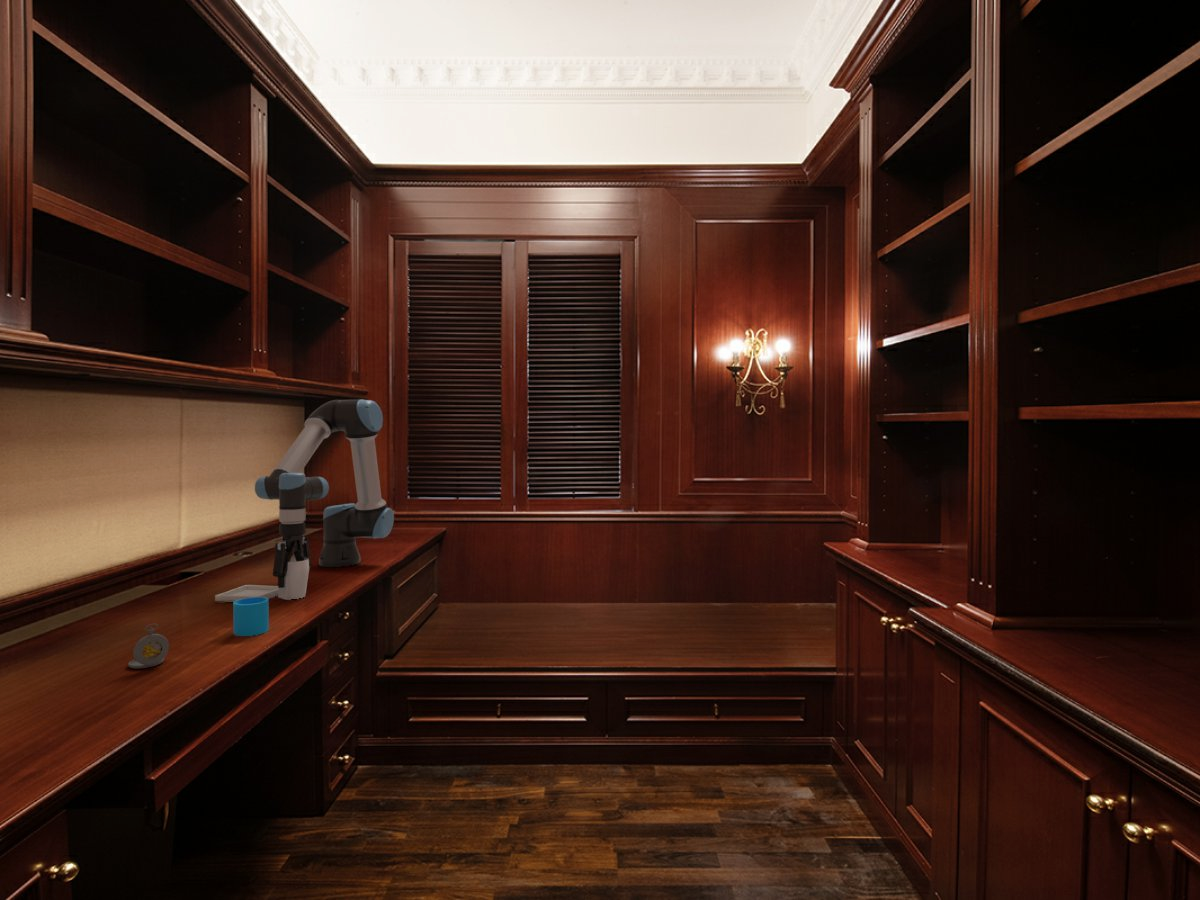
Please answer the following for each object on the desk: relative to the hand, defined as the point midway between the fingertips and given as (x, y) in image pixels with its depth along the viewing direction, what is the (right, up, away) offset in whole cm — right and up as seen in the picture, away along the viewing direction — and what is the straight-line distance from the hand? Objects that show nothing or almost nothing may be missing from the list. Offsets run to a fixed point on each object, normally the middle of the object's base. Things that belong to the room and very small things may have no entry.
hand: (292, 593), depth 206 cm
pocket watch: (-5, -3, -59) cm, 60 cm away
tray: (-13, -1, 0) cm, 13 cm away
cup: (0, -1, 0) cm, 1 cm away
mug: (+5, -3, -33) cm, 33 cm away
